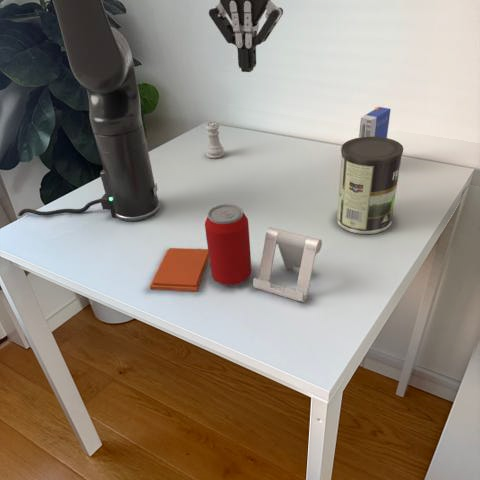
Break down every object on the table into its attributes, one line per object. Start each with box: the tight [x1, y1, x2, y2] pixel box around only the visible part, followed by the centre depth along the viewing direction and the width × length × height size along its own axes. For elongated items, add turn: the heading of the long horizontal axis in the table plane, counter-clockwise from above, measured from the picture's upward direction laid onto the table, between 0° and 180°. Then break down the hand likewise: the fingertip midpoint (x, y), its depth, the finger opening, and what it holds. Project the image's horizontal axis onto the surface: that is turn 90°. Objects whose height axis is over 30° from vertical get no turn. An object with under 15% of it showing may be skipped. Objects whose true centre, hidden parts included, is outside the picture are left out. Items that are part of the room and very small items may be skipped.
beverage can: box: [204, 203, 252, 286], centre depth 77 cm, size 7×7×12 cm
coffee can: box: [336, 137, 404, 235], centre depth 87 cm, size 10×10×14 cm
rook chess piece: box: [205, 120, 225, 160], centre depth 116 cm, size 4×4×8 cm
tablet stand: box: [252, 227, 323, 303], centre depth 75 cm, size 9×8×8 cm
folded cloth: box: [149, 247, 210, 293], centre depth 83 cm, size 8×11×1 cm
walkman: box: [358, 106, 392, 138], centre depth 104 cm, size 8×3×12 cm, turn 138°
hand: (247, 70), depth 85 cm, fingers closed
